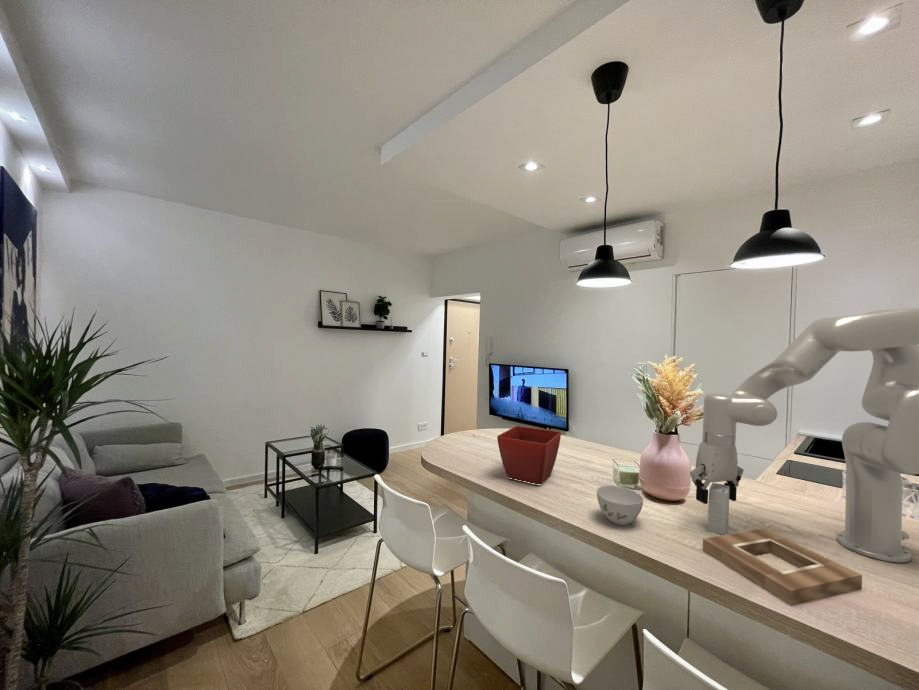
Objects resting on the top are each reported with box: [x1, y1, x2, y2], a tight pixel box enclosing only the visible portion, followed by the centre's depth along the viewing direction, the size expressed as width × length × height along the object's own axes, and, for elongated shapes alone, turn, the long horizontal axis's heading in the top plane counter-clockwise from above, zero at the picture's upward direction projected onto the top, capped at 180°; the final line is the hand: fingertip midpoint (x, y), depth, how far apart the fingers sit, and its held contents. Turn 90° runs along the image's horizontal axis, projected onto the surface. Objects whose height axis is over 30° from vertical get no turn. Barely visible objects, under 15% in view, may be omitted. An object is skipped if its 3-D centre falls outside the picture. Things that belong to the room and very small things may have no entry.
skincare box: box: [707, 482, 730, 536], centre depth 104 cm, size 6×4×12 cm
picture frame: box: [702, 528, 863, 606], centre depth 87 cm, size 20×20×3 cm
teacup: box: [596, 484, 644, 526], centre depth 110 cm, size 15×12×8 cm
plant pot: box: [496, 425, 562, 485], centre depth 143 cm, size 19×19×17 cm
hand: (715, 500), depth 104 cm, fingers open, 9 cm apart
